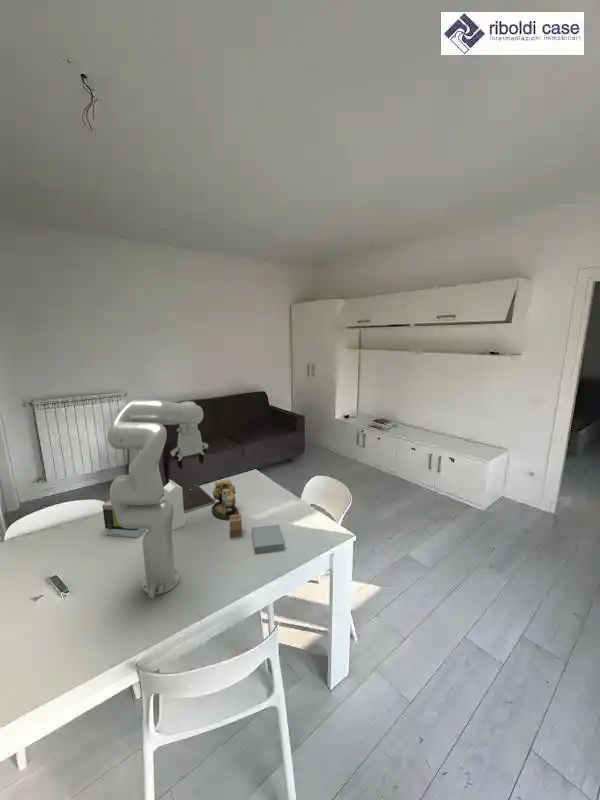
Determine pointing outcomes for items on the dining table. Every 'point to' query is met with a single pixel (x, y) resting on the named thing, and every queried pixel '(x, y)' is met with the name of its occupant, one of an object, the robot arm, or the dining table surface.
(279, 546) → the slate platform
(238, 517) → the walnut block
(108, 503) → the tea box
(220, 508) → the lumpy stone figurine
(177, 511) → the milk
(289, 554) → the dining table surface
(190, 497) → the hardcover book
